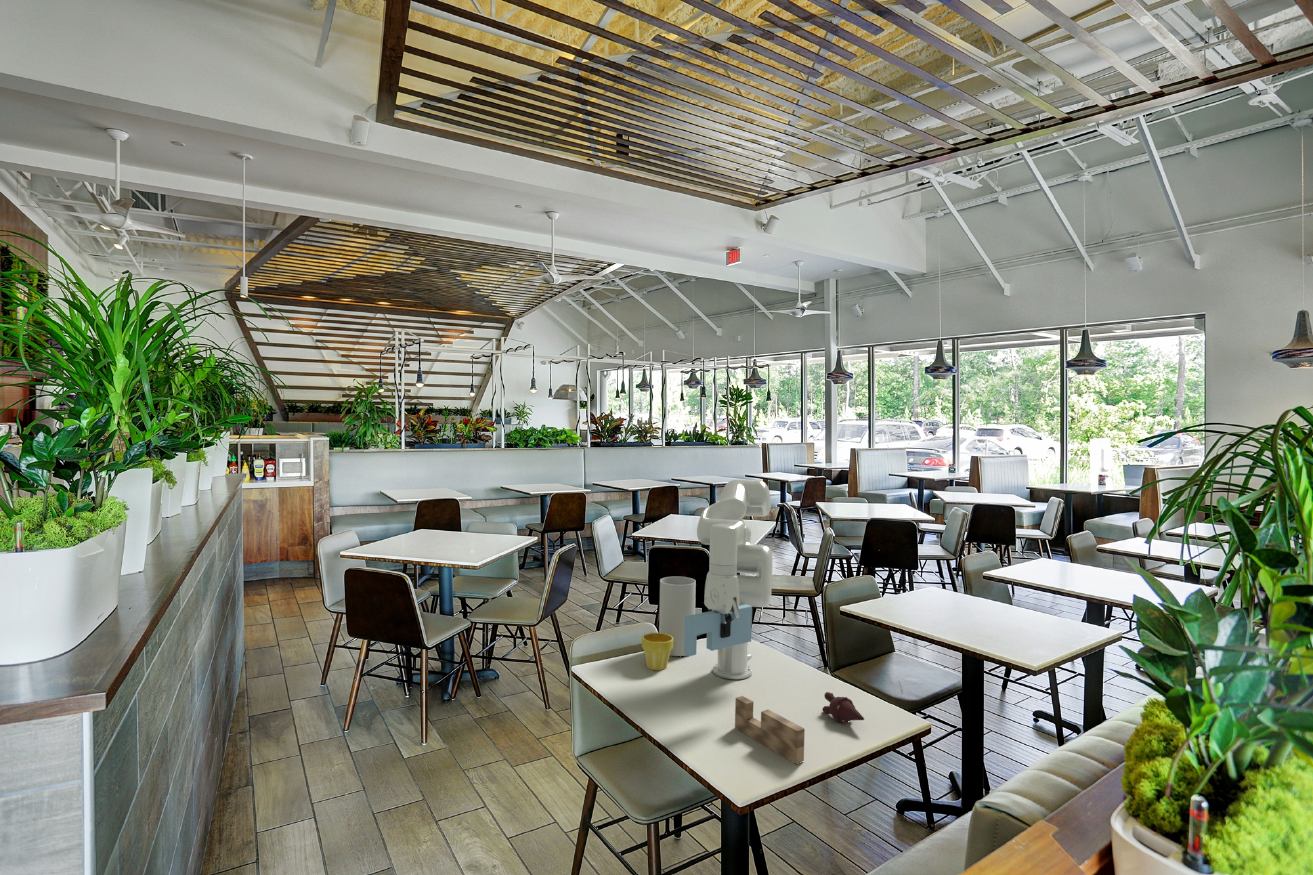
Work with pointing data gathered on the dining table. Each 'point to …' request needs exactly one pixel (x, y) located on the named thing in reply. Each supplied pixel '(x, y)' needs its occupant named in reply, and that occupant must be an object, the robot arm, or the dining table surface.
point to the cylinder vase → (676, 609)
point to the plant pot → (657, 649)
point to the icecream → (841, 708)
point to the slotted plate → (717, 630)
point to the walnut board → (770, 730)
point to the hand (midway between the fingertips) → (721, 634)
